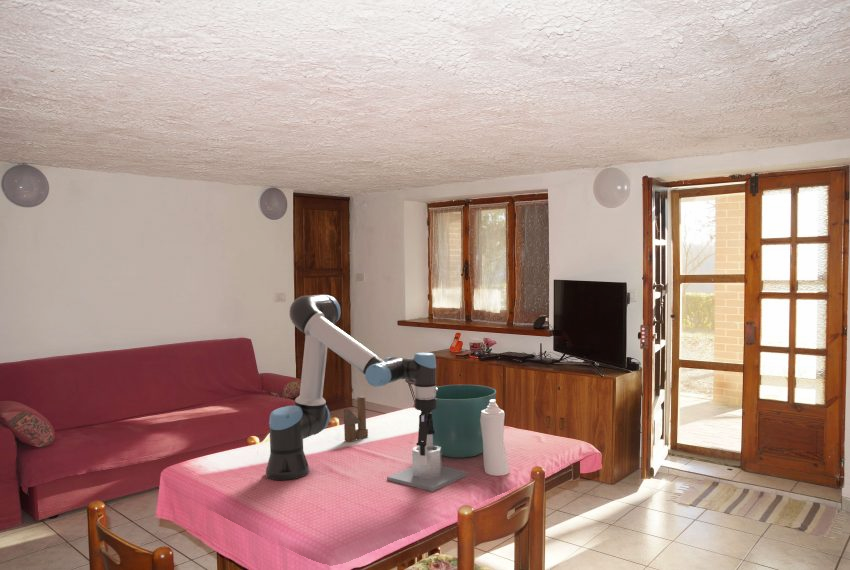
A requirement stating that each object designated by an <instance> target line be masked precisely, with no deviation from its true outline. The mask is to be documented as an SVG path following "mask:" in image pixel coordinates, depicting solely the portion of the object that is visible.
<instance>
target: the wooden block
mask: <svg viewBox="0 0 850 570" xmlns="http://www.w3.org/2000/svg"><path fill="white" fill-rule="evenodd" d="M356 400H357V401H356V403H357V404H356V405H357V409H356V410H357V416H356V415H355V413H353V411H351V410H350V409H349V408H343V424H344V425H343V426H344V428H343V430H344V442H349V443H351V442H355V441H356V439H357V440H361V439H366V438H368V436H369V429H368V428H367V416H366V415H367V414H366V412H367V411H366V406H367V405H366V396H365V395H359V396H357V397H356ZM356 425H357V428H356Z"/></svg>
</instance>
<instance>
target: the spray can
mask: <svg viewBox="0 0 850 570" xmlns="http://www.w3.org/2000/svg"><path fill="white" fill-rule="evenodd" d="M496 401H497V400H495V399H492V400H490V404H489V406H487V408H486V409H485V410H482V411H481V412H482V413H481V417H480V423H481V431H482V438H483V452H482V454H483V455H482V456H483V465H484V466H483V467H484V472H485V474H486V475H487V474H488V475H490V476H496V477H497V476H498V477H499V476H506V475H508V474H509V473H510V469H509V468H510V467H509V462H508V457H507V452H506V446H505V441H504V439H505V438H504V437H505V436H504V434H505V433H504V432H505V431H504V430H505V415H506V414H505V411H504V410H503V409H501V408H500V407H499V405H498V404H497V403H496Z"/></svg>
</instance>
